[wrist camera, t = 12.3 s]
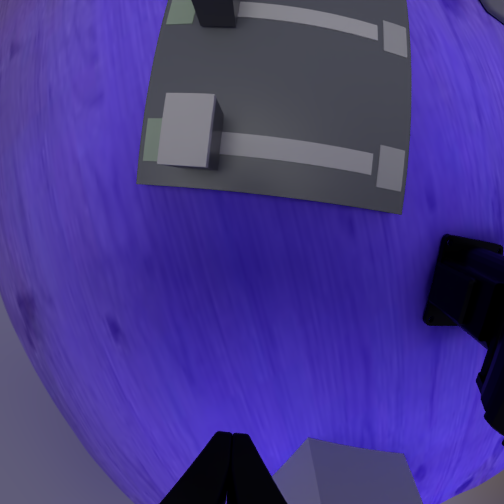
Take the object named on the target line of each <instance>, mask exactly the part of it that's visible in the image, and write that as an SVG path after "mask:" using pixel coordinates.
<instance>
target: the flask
mask: <svg viewBox="0 0 504 504" xmlns="http://www.w3.org/2000/svg"><path fill="white" fill-rule="evenodd" d="M480 1H481V3H482V4H483V6H484V7H485V9H486V10H487V12H489V13H490V14H491V15H493V16H494V17H496V18H497V19H498V20H500V21H501V22H502V23H503V24H504V0H480Z"/></svg>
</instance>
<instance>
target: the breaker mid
mask: <svg viewBox="0 0 504 504" xmlns="http://www.w3.org/2000/svg"><path fill="white" fill-rule="evenodd" d="M191 1H192V4H193V6H194V9H195V12H196V15H197V18H198V20H199V23H200V26H229V27H236V23H237V17H238V11H239V6H240V0H191Z"/></svg>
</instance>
